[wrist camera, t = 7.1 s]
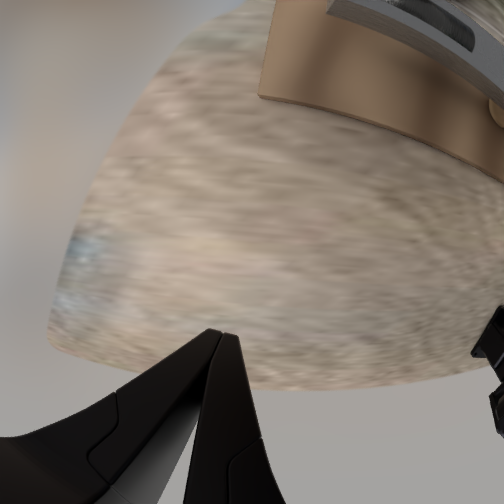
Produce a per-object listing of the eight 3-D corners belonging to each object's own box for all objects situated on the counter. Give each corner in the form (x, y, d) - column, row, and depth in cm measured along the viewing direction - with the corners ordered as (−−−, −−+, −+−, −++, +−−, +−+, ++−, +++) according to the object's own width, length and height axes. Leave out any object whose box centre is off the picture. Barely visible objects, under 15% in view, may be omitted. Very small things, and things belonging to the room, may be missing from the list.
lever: (549, 122, 8) (571, 127, 6) (547, 157, 9) (568, 164, 7) (329, -28, 7) (344, -52, 4) (323, 16, 8) (339, -7, 6)
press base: (533, 98, 10) (543, 98, 9) (522, 196, 14) (532, 200, 13) (283, -16, 12) (281, -26, 11) (260, 97, 16) (257, 94, 15)
